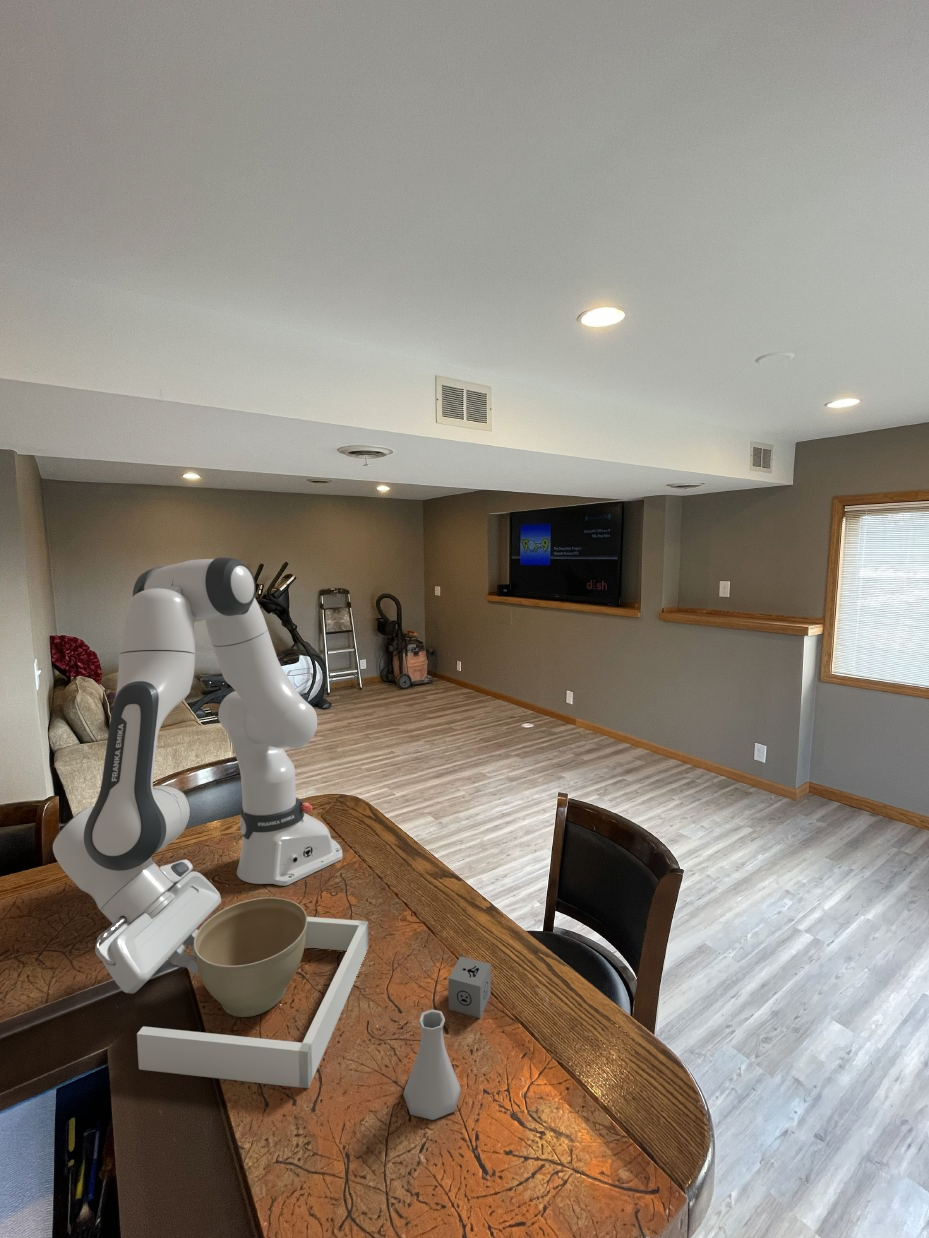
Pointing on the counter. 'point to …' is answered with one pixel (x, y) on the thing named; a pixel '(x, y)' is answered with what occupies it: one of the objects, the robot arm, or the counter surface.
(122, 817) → the robot arm
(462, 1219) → the counter surface
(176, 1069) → the box
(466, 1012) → the dice cube
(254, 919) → the planter bowl
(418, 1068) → the flask
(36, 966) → the counter surface
